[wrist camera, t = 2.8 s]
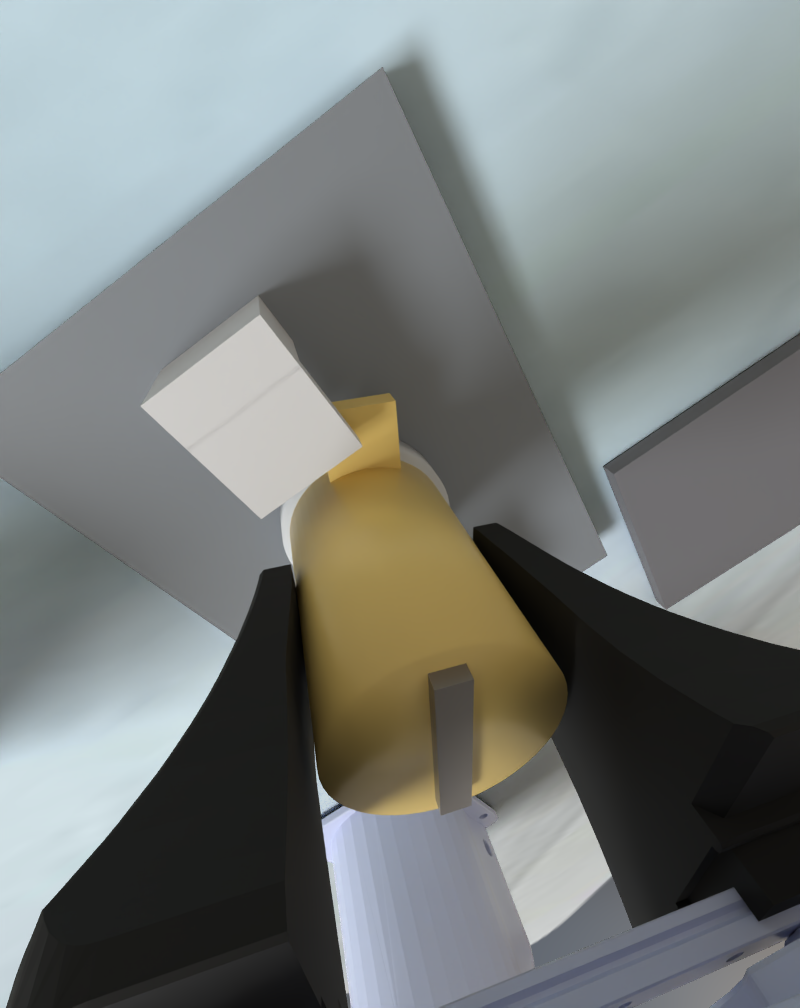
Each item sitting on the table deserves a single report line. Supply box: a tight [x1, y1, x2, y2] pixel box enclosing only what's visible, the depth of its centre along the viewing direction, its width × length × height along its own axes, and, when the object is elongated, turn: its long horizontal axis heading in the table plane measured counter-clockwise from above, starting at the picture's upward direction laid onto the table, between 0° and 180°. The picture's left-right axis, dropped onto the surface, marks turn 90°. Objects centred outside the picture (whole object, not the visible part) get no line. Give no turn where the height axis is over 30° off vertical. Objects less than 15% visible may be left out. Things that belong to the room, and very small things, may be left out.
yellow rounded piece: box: [290, 393, 568, 816], centre depth 11 cm, size 8×4×7 cm, turn 3°
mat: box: [604, 334, 800, 609], centre depth 19 cm, size 9×9×1 cm
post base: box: [0, 67, 607, 640], centre depth 14 cm, size 16×12×4 cm
